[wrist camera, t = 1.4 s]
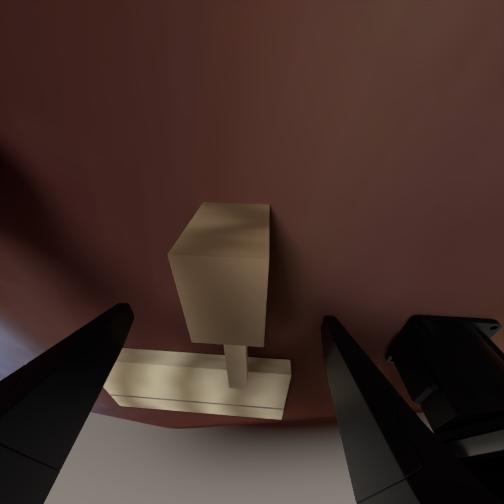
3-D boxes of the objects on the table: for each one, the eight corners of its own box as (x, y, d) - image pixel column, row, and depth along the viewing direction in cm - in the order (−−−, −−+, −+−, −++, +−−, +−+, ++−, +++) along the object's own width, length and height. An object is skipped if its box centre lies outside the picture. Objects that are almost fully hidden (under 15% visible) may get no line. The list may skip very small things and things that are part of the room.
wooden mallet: (269, 204, 13) (269, 259, 8) (261, 351, 22) (259, 416, 17) (203, 202, 13) (167, 254, 8) (223, 349, 22) (211, 412, 17)
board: (290, 359, 22) (291, 375, 21) (280, 406, 29) (281, 420, 28) (89, 345, 23) (78, 359, 22) (125, 393, 30) (119, 406, 29)
